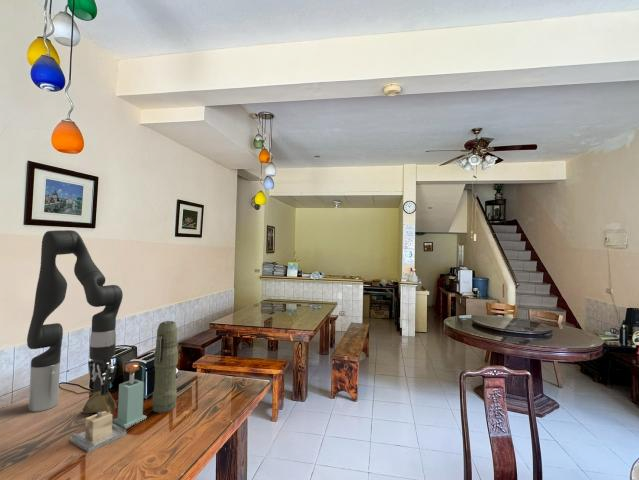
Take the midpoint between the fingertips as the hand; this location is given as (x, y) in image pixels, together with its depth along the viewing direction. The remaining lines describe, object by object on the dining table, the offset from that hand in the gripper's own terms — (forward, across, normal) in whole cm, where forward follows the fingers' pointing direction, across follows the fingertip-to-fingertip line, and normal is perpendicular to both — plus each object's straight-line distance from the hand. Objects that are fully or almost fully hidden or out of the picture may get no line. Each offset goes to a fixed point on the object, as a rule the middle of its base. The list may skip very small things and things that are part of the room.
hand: (100, 392), depth 112 cm
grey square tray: (+15, 0, 0) cm, 15 cm away
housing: (+14, 0, 0) cm, 14 cm away
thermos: (+15, 0, +25) cm, 29 cm away
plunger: (+7, -2, +12) cm, 14 cm away
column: (+15, -2, +12) cm, 19 cm away
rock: (+16, -20, +10) cm, 27 cm away
